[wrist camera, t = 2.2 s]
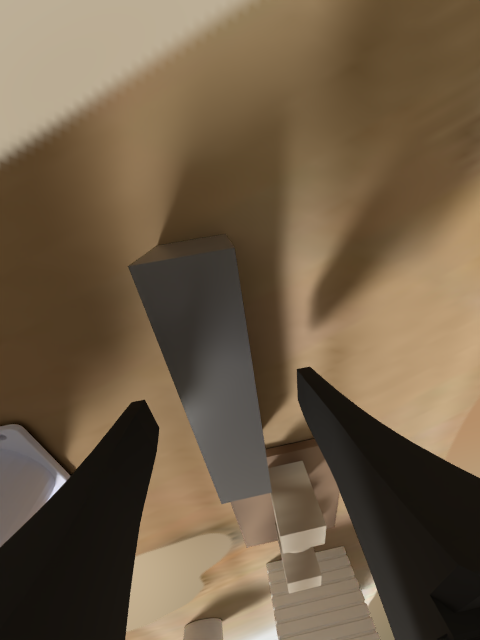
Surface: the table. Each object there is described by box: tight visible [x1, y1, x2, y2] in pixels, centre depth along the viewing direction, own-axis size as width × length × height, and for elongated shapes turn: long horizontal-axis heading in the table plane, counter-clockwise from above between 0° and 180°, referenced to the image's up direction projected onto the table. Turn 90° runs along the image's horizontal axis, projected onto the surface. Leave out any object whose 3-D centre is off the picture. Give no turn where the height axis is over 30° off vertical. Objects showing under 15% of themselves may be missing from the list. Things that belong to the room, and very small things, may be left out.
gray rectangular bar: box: [128, 234, 272, 504], centre depth 11 cm, size 3×14×4 cm, turn 8°
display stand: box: [231, 439, 339, 594], centre depth 19 cm, size 10×16×5 cm, turn 8°
